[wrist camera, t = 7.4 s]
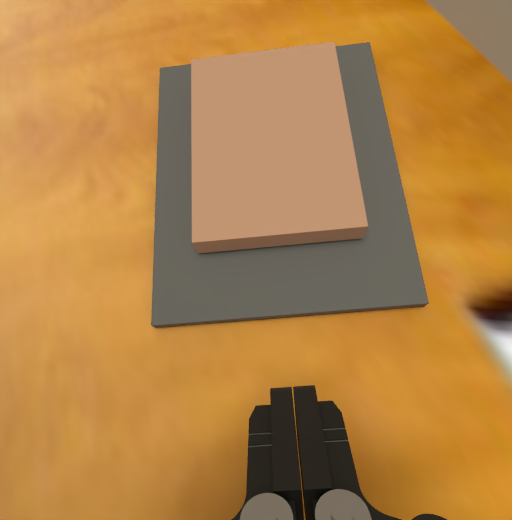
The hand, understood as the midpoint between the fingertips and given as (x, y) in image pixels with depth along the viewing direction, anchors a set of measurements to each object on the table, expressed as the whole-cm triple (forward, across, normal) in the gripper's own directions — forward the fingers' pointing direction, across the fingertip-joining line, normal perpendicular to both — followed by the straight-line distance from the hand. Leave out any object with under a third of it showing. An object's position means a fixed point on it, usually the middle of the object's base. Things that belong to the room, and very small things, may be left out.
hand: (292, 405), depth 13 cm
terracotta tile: (+11, 0, -1) cm, 11 cm away
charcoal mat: (+17, 0, -4) cm, 17 cm away
